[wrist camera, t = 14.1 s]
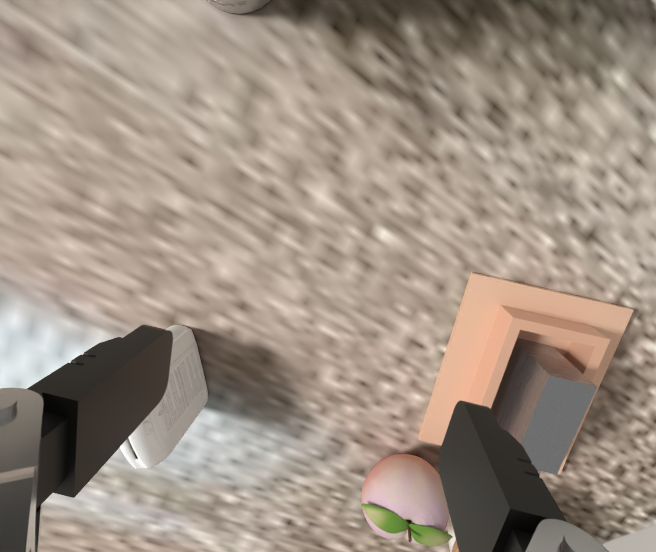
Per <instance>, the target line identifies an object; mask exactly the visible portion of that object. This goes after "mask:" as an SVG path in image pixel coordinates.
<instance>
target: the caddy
mask: <svg viewBox="0 0 656 552" xmlns="http://www.w3.org/2000/svg"><path fill="white" fill-rule="evenodd" d="M633 311H634V310H633V309H631V308H629V307H625V306H620V305H616V304H611V303H607V302H603V301H598V300H594V299H589V298H585V297H581V296H576V295H572V294H567V293H563V292H558V291H554V290H550V289H545V288H541V287H536V286H532V285H527V284H523V283H519V282H514V281H510V280H505V279H501V278H496V277H492V276H488V275H483V274H479V273H474V272H471V274H470V277H469V280H468V283H467V287H466V290H465V293H464V296H463V299H462V302H461V305H460V308H459V311H458V315H457V318H456V321H455V324H454V327H453V330H452V333H451V336H450V339H449V342H448V346H447V349H446V352H445V355H444V358H443V361H442V364H441V367H440V370H439V374H438V377H437V380H436V383H435V386H434V389H433V392H432V395H431V398H430V402H429V405H428V408H427V411H426V414H425V417H424V420H423V423H422V426H421V430H420V433H419V440H420V441H424V442H428V443H432V444H436V445H440V446H442V443H443V440H444V437H445V434H446V431H447V428H448V425H449V422H450V419H451V416H452V414H453V411H454V408H455V406H456V404H457V402H458V401H460V400H462V401H466V402H470V403H474V404H478V405H483V406H487V407H489V408H490V409H491V407H492V404H493V401H494V399H495V396H496V393H497V391H498V388H499V385H500V383H501V380H502V377H503V374H504V372H505V369H506V366H507V364H508V361H509V358H510V356H511V353H512V350H513V348H514V345H515V342H516V340H517V338H521V339H525V340H529V341H533V342H537V343H541V344H546V345H550V346H553V347H554V348H555V349H556V350H557V351H558V352H559V353H560V354H562V355H563V356H564V357H565V358H566V359H567V360H568V361H569V362H570V363H571V364H573V365H574V366H575V367H576V368H577V369H578V370H579V371H580V372H581V373H582V374H584V375H585V376H586V377H587V378H588V379H589V380H590V381H591V382H592V383H593V384H595V385H596V386H597V389H596V391H595V393H594V395H593V397H592V400H591V402H590V404H589V406H588V408H587V410H586V413H585V415H584V417H583V419H582V421H581V423H580V426H579V428H578V430H577V432H576V434H575V437H574V439H573V441H572V443H571V445H570V447H569V450H568V452H567V454H566V456H565V458H564V460H563V463H562V465H561V467H560V469H559V471H558V473H557V474H560V473H561V471H562V469H563V466H564V464H565V462H566V460H567V457H568V455H569V453H570V451H571V449H572V446H573V444H574V442H575V440H576V437H577V435H578V433H579V431H580V429H581V426H582V424H583V422H584V420H585V417H586V415H587V413H588V411H589V409H590V406H591V404H592V402H593V400H594V397H595V395H596V393H597V391H598V389H599V386H600V384H601V382H602V380H603V377H604V375H605V373H606V371H607V369H608V366H609V364H610V362H611V360H612V357H613V355H614V353H615V351H616V349H617V346H618V344H619V342H620V340H621V337H622V335H623V333H624V331H625V329H626V326H627V324H628V322H629V320H630V317H631V315H632V313H633Z"/></svg>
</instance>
